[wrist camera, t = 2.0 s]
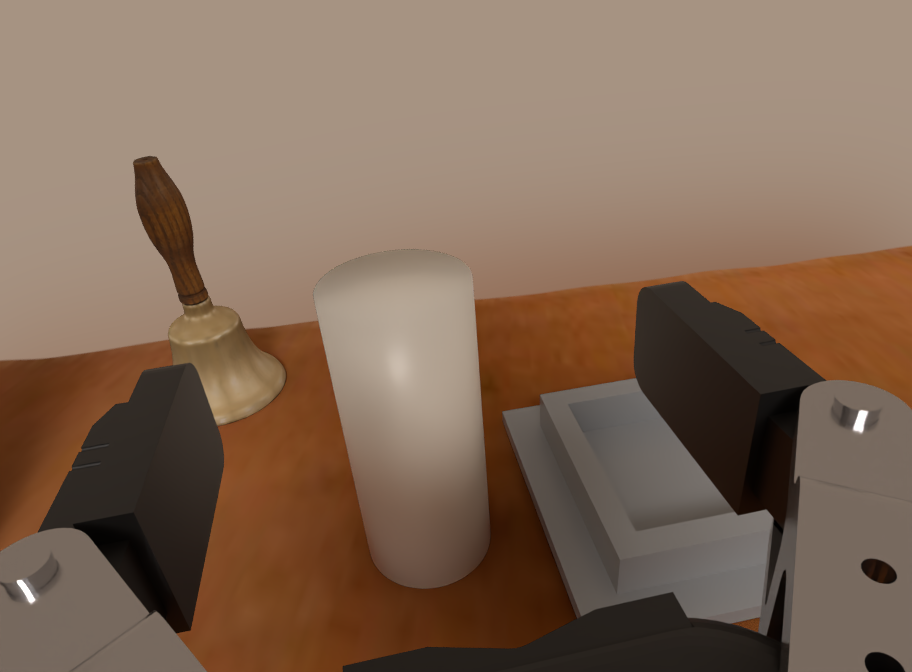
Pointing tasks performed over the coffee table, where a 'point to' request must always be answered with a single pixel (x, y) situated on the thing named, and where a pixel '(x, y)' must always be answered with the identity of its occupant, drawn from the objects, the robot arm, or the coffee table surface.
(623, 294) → the coffee table surface
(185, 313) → the hand bell
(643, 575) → the candle dish
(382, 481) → the candle
